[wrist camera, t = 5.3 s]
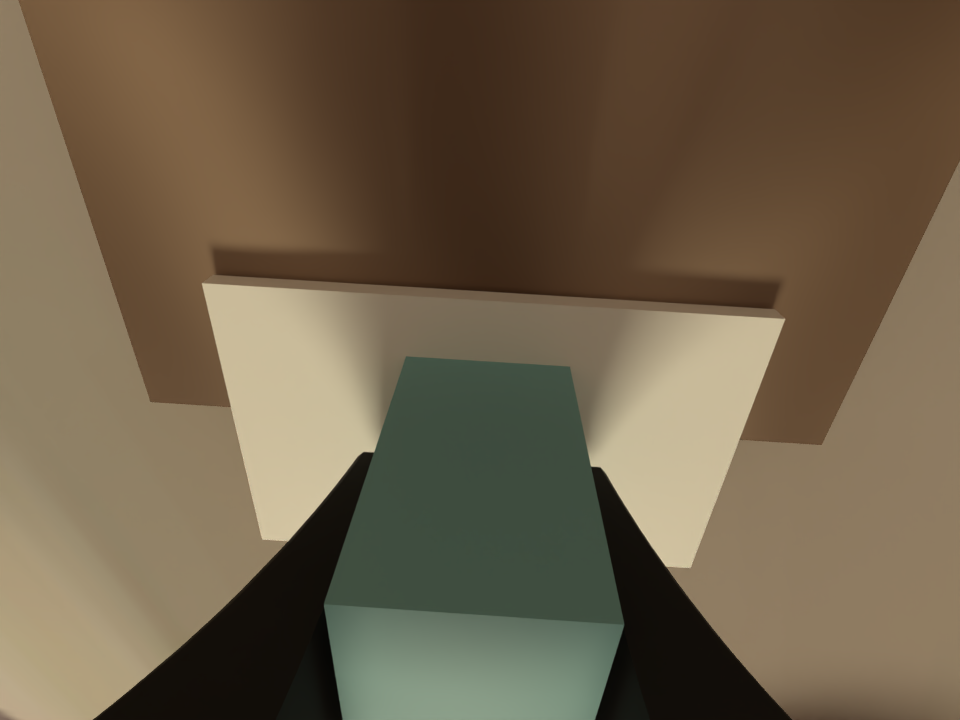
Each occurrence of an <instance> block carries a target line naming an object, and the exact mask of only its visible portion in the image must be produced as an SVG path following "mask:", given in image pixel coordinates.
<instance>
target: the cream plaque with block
mask: <svg viewBox="0 0 960 720" xmlns="http://www.w3.org/2000/svg"><path fill="white" fill-rule="evenodd" d="M202 286H203V291H204V295H205V299H206V303H207V307H208V312H209V316H210V320H211V324H212V329H213V333H214V337H215V341H216V346H217V350H218V354H219V358H220V363H221V367H222V371H223V375H224V380H225V384H226V388H227V392H228V397H229V401H230V405H231V409H232V414H233V418H234V422H235V426H236V430H237V435H238V439H239V443H240V447H241V452H242V456H243V460H244V464H245V469H246V473H247V477H248V481H249V486H250V490H251V494H252V498H253V503H254V507H255V511H256V515H257V520H258V524H259V528H260V532H261V537H262V539H263V540H278V541H289V540H290V539H291V538H292V536H293V535H294V534H295V533H296V532H297V531H298V529H299V528H300V527H301V526H302V525H303V524H304V523H305V521H306V520H307V519H308V518H309V517H310V516H311V515H312V513H313V512H314V511H315V510H316V509H317V508H318V506H319V505H320V504H321V503H322V502H323V500H324V499H325V498H326V497H327V495H328V494H329V493H330V492H331V491H332V489H333V488H334V487H335V486H336V484H337V483H338V482H339V480H340V479H341V478H342V477H343V475H344V474H345V473H346V471H347V470H348V469H349V467H350V466H351V465H352V463H353V462H354V461H355V459H356V458H357V457H358V456H359V455H360V454H361V453H363V452H374V454H373V457H372V460H371V463H370V466H369V469H368V472H367V475H366V478H365V481H364V484H363V487H362V490H361V493H360V497H359V500H358V503H357V506H356V509H355V512H354V515H353V518H352V521H351V524H350V527H349V530H348V533H347V536H346V539H345V542H344V545H343V548H342V551H341V554H340V557H339V560H338V563H337V566H336V569H335V572H334V575H333V578H332V581H331V584H330V587H329V590H328V593H327V596H326V599H325V602H324V609H325V615H326V621H327V627H328V633H329V639H330V645H331V651H332V657H333V664H334V670H335V676H336V682H337V688H338V694H339V700H340V706H341V712H342V718H343V720H595V718H596V715H597V712H598V708H599V705H600V702H601V699H602V695H603V692H604V689H605V686H606V683H607V679H608V676H609V673H610V670H611V666H612V663H613V660H614V657H615V654H616V650H617V647H618V644H619V641H620V637H621V634H622V631H623V628H624V620H623V616H622V611H621V606H620V601H619V597H618V592H617V587H616V583H615V578H614V573H613V568H612V564H611V559H610V554H609V549H608V545H607V540H606V535H605V530H604V526H603V521H602V516H601V512H600V507H599V502H598V497H597V493H596V488H595V483H594V478H593V474H592V469H591V467H601V468H602V469H603V471H604V472H605V473H606V475H607V476H608V478H609V480H610V481H611V483H612V485H613V487H614V488H615V490H616V492H617V493H618V495H619V497H620V498H621V500H622V501H623V503H624V505H625V506H626V508H627V510H628V511H629V513H630V514H631V516H632V517H633V519H634V520H635V522H636V524H637V525H638V527H639V528H640V530H641V531H642V533H643V534H644V536H645V537H646V539H647V540H648V542H649V543H650V545H651V546H652V548H653V549H654V550H655V552H656V553H657V555H658V556H659V558H660V559H661V560H662V562H663V563H664V565H665V566H667V567H682V568H691V565H692V563H693V560H694V557H695V555H696V552H697V549H698V547H699V544H700V542H701V539H702V536H703V534H704V531H705V528H706V526H707V523H708V521H709V518H710V515H711V513H712V510H713V507H714V505H715V502H716V500H717V497H718V494H719V492H720V489H721V487H722V484H723V481H724V479H725V476H726V473H727V471H728V468H729V466H730V463H731V460H732V458H733V455H734V452H735V450H736V447H737V445H738V442H739V439H740V437H741V434H742V431H743V429H744V426H745V424H746V421H747V418H748V416H749V413H750V410H751V408H752V405H753V403H754V400H755V397H756V395H757V392H758V389H759V387H760V384H761V382H762V379H763V376H764V374H765V371H766V368H767V366H768V363H769V361H770V358H771V355H772V353H773V350H774V347H775V345H776V342H777V340H778V337H779V334H780V332H781V329H782V326H783V324H784V321H785V318H784V317H783V316H782V315H780V314H779V313H778V312H777V311H776V310H775V309H763V308H747V307H731V306H714V305H698V304H682V303H665V302H649V301H632V300H616V299H600V298H583V297H567V296H551V295H534V294H518V293H502V292H485V291H469V290H453V289H436V288H420V287H404V286H387V285H371V284H355V283H338V282H322V281H305V280H289V279H273V278H256V277H240V276H224V275H212V276H211V277H209V278H208V279H207V280H205V281H204V282H203V283H202Z"/></svg>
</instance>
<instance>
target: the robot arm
mask: <svg viewBox="0 0 960 720" xmlns="http://www.w3.org/2000/svg"><path fill="white" fill-rule="evenodd" d="M373 454H374V452H363V453H361V454H360V455H359V456H358V457H357V458H356V459H355V461H354V462H353V463H352V465H351V466H350V467H349V469H348V470H347V471H346V473H345V474H344V475H343V477H342V478H341V479H340V480H339V482H338V483H337V484H336V486H335V487H334V488H333V489H332V491H331V492H330V493H329V494H328V495H327V497H326V498H325V499H324V500H323V502H322V503H321V504H320V505H319V506H318V508H317V509H316V510H315V511H314V512H313V513H312V515H311V516H310V517H309V518H308V519H307V520H306V521H305V523H304V524H303V525H302V526H301V527H300V528H299V529H298V531H297V532H296V533H295V534H294V535H293V536H292V538H291V539H290V540H289V541H288V542H287V543H286V544H285V545H284V546H283V548H282V549H281V550H280V551H279V552H278V553H277V554H276V555H275V556H274V557H273V558H272V559H271V560H270V561H269V562H268V563H267V564H266V565H265V566H264V567H263V568H262V570H261V571H260V572H259V573H258V574H257V575H256V576H255V577H254V578H253V579H252V580H251V581H250V582H249V583H248V584H247V585H246V586H245V587H244V588H243V589H242V590H241V591H240V592H239V593H238V594H237V595H236V596H235V597H234V598H233V599H232V600H231V601H230V602H229V603H228V604H227V605H226V606H225V607H224V608H223V609H222V610H221V611H220V612H218V613H217V614H216V615H215V616H214V617H213V618H212V619H211V620H210V621H209V622H208V623H207V624H206V625H204V626H203V627H202V628H201V629H200V630H199V631H198V632H197V633H196V634H195V635H193V636H192V637H191V638H190V639H189V640H188V641H187V642H186V643H185V644H184V645H182V646H181V647H180V648H179V649H178V650H177V651H176V652H174V653H173V654H172V655H171V656H170V657H168V658H167V659H166V660H165V661H164V662H163V663H161V664H160V665H159V666H158V667H157V668H155V669H154V670H153V671H152V672H151V673H150V674H148V675H147V676H146V677H145V678H144V679H142V680H141V681H140V682H139V683H138V684H137V685H135V686H134V687H133V688H132V689H131V690H129V691H128V692H127V693H126V694H125V695H123V696H122V697H121V698H120V699H118V700H117V701H116V702H115V703H113V704H112V705H111V706H110V707H108V708H107V709H106V710H105V711H103V712H102V713H101V714H100V715H98V716H97V717H96V718H95V719H93V720H343V718H342V712H341V706H340V700H339V694H338V688H337V682H336V676H335V670H334V664H333V657H332V651H331V645H330V639H329V633H328V627H327V621H326V615H325V609H324V602H325V599H326V596H327V593H328V590H329V587H330V584H331V581H332V578H333V575H334V572H335V569H336V566H337V563H338V560H339V557H340V554H341V551H342V548H343V545H344V542H345V539H346V536H347V533H348V530H349V527H350V524H351V521H352V518H353V515H354V512H355V509H356V506H357V503H358V500H359V497H360V493H361V490H362V487H363V484H364V481H365V478H366V475H367V472H368V469H369V466H370V463H371V460H372V457H373ZM591 469H592V474H593V478H594V483H595V488H596V493H597V497H598V502H599V507H600V512H601V516H602V521H603V526H604V530H605V535H606V540H607V545H608V549H609V554H610V559H611V564H612V568H613V573H614V578H615V583H616V587H617V592H618V597H619V601H620V606H621V611H622V616H623V620H624V628H623V631H622V634H621V637H620V641H619V644H618V647H617V650H616V654H615V657H614V660H613V663H612V666H611V670H610V673H609V676H608V679H607V683H606V686H605V689H604V692H603V695H602V699H601V702H600V705H599V708H598V712H597V715H596V718H595V720H792V719H791V718H790V717H789V716H788V715H787V714H786V713H785V712H784V710H783V709H782V708H781V707H780V706H779V705H778V704H777V703H776V702H775V701H774V700H773V699H772V697H771V696H770V695H769V694H768V693H767V692H766V691H765V690H764V689H763V687H762V686H761V685H760V684H759V683H758V682H757V681H756V679H755V678H754V677H753V676H752V675H751V674H750V673H749V671H748V670H747V669H746V668H745V667H744V666H743V665H742V663H741V662H740V661H739V660H738V659H737V658H736V656H735V655H734V654H733V653H732V652H731V650H730V649H729V648H728V647H727V646H726V645H725V643H724V642H723V641H722V640H721V638H720V637H719V636H718V635H717V633H716V632H715V631H714V630H713V629H712V627H711V626H710V625H709V623H708V622H707V621H706V620H705V618H704V617H703V616H702V614H701V613H700V612H699V611H698V609H697V608H696V607H695V605H694V604H693V603H692V602H691V600H690V599H689V598H688V596H687V595H686V594H685V592H684V591H683V590H682V588H681V587H680V586H679V584H678V583H677V582H676V580H675V579H674V578H673V576H672V575H671V573H670V572H669V570H668V569H667V568H666V566H665V565H664V563H663V562H662V560H661V559H660V558H659V556H658V555H657V553H656V552H655V550H654V549H653V548H652V546H651V545H650V543H649V542H648V540H647V539H646V537H645V536H644V534H643V533H642V531H641V530H640V528H639V527H638V525H637V524H636V522H635V520H634V519H633V517H632V516H631V514H630V513H629V511H628V510H627V508H626V506H625V505H624V503H623V501H622V500H621V498H620V497H619V495H618V493H617V492H616V490H615V488H614V487H613V485H612V483H611V481H610V480H609V478H608V476H607V475H606V473H605V472H604V471H603V469H602V468H601V467H591Z"/></svg>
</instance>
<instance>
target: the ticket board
mask: <svg viewBox="0 0 960 720" xmlns="http://www.w3.org/2000/svg"><path fill="white" fill-rule="evenodd" d="M19 3H20V6H21V9H22V12H23V15H24V18H25V21H26V24H27V27H28V30H29V33H30V36H31V40H32V43H33V46H34V49H35V52H36V55H37V58H38V61H39V64H40V67H41V70H42V73H43V76H44V79H45V82H46V85H47V88H48V91H49V94H50V97H51V100H52V103H53V106H54V109H55V112H56V116H57V119H58V122H59V125H60V128H61V131H62V134H63V137H64V140H65V143H66V146H67V149H68V152H69V155H70V158H71V161H72V164H73V167H74V170H75V173H76V176H77V179H78V182H79V185H80V189H81V192H82V195H83V198H84V201H85V204H86V207H87V210H88V213H89V216H90V219H91V222H92V225H93V228H94V231H95V234H96V237H97V240H98V243H99V246H100V249H101V252H102V255H103V258H104V261H105V265H106V268H107V271H108V274H109V277H110V280H111V283H112V286H113V289H114V292H115V295H116V298H117V301H118V304H119V307H120V310H121V313H122V316H123V319H124V322H125V325H126V328H127V331H128V334H129V338H130V341H131V344H132V347H133V350H134V353H135V356H136V359H137V362H138V365H139V368H140V371H141V374H142V377H143V380H144V383H145V386H146V389H147V392H148V395H149V398H150V401H151V402H160V403H176V404H191V405H207V406H222V407H231V405H230V401H229V397H228V392H227V388H226V384H225V380H224V375H223V371H222V367H221V363H220V358H219V354H218V350H217V346H216V341H215V337H214V333H213V329H212V324H211V320H210V316H209V312H208V307H207V303H206V299H205V295H204V291H203V286H202V283H203V282H204V281H205V280H207V279H208V278H209V277H211V276H212V275H224V276H240V277H256V278H273V279H289V280H305V281H322V282H338V283H355V284H371V285H387V286H404V287H420V288H436V289H453V290H469V291H485V292H502V293H518V294H534V295H551V296H567V297H583V298H600V299H616V300H632V301H649V302H665V303H682V304H698V305H714V306H731V307H747V308H763V309H775V310H776V311H777V312H778V313H779V314H780V315H782V316H783V317H784V318H785V321H784V324H783V326H782V329H781V332H780V334H779V337H778V340H777V342H776V345H775V347H774V350H773V353H772V355H771V358H770V361H769V363H768V366H767V368H766V371H765V374H764V376H763V379H762V382H761V384H760V387H759V389H758V392H757V395H756V397H755V400H754V403H753V405H752V408H751V410H750V413H749V416H748V418H747V421H746V424H745V426H744V429H743V431H742V434H741V437H740V439H739V440H753V441H769V442H785V443H800V444H816V445H822V443H823V441H824V439H825V437H826V435H827V433H828V431H829V428H830V426H831V424H832V422H833V420H834V418H835V416H836V414H837V412H838V410H839V408H840V406H841V404H842V402H843V400H844V398H845V396H846V393H847V391H848V389H849V387H850V385H851V383H852V381H853V379H854V377H855V375H856V373H857V371H858V369H859V367H860V365H861V363H862V360H863V358H864V356H865V354H866V352H867V350H868V348H869V346H870V344H871V342H872V340H873V338H874V336H875V334H876V332H877V330H878V328H879V325H880V323H881V321H882V319H883V317H884V315H885V313H886V311H887V309H888V307H889V305H890V303H891V301H892V299H893V297H894V295H895V293H896V290H897V288H898V286H899V284H900V282H901V280H902V278H903V276H904V274H905V272H906V270H907V268H908V266H909V264H910V262H911V260H912V258H913V255H914V253H915V251H916V249H917V247H918V245H919V243H920V241H921V239H922V237H923V235H924V233H925V231H926V229H927V227H928V225H929V222H930V220H931V218H932V216H933V214H934V212H935V210H936V208H937V206H938V204H939V202H940V200H941V198H942V196H943V194H944V192H945V190H946V187H947V185H948V183H949V181H950V179H951V177H952V175H953V173H954V171H955V169H956V167H957V165H958V163H959V161H960V0H19Z"/></svg>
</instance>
